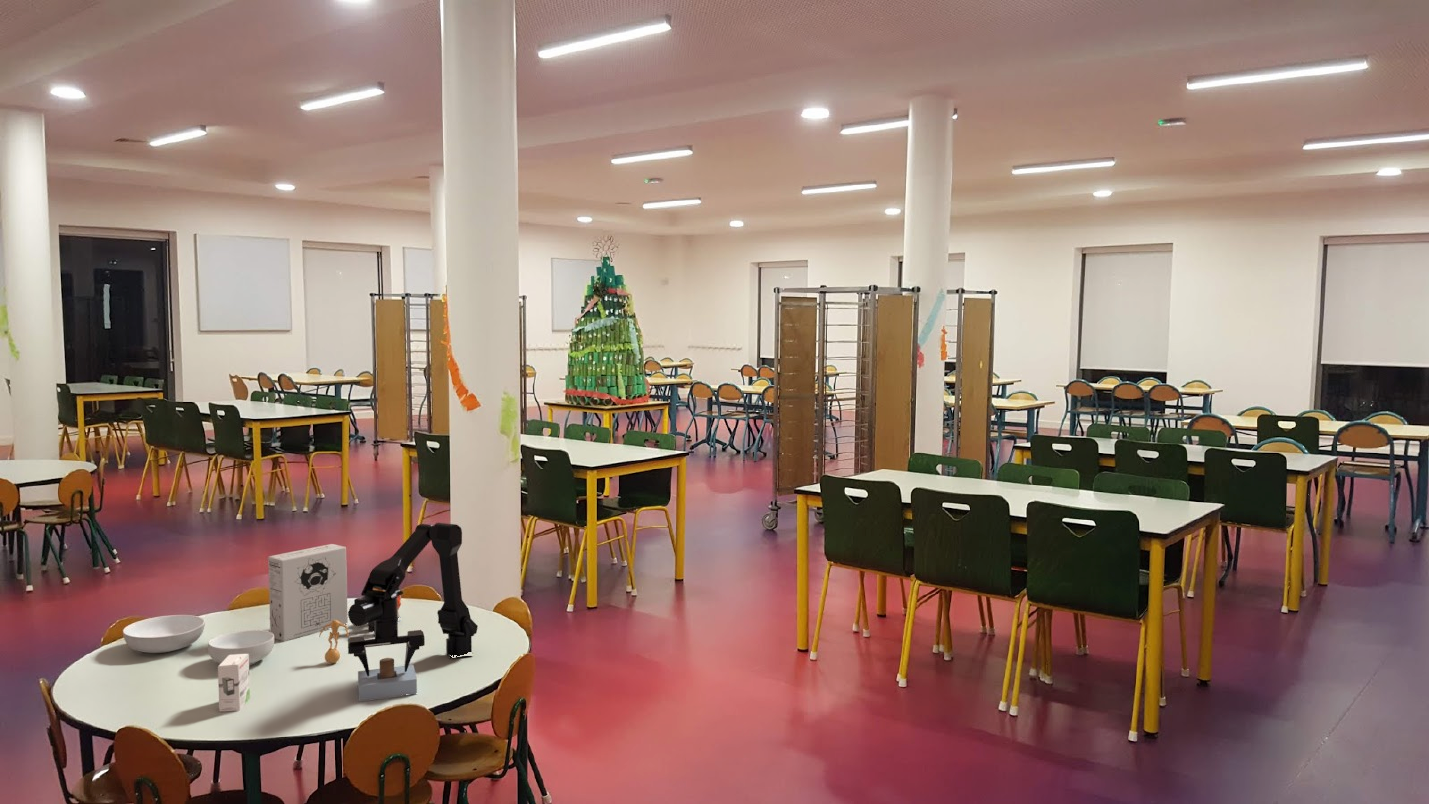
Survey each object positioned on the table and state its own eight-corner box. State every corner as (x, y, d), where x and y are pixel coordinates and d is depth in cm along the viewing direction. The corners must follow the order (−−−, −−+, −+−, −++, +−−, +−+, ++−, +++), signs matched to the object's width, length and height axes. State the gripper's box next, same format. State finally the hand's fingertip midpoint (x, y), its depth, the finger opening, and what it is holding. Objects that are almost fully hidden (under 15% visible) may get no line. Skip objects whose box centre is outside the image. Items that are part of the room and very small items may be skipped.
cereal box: (334, 619, 307) (332, 543, 305) (348, 624, 303) (346, 546, 301) (269, 637, 290) (267, 556, 287) (283, 642, 285) (281, 560, 283)
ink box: (230, 698, 242) (228, 653, 241) (250, 697, 243) (249, 652, 242) (218, 712, 234) (217, 665, 233) (240, 711, 235) (238, 664, 234)
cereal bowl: (284, 663, 268) (284, 638, 267) (222, 678, 256) (221, 652, 255) (260, 648, 279) (259, 625, 279) (199, 662, 267) (198, 638, 267)
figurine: (314, 665, 266) (313, 623, 265) (323, 657, 272) (322, 616, 271) (344, 665, 266) (343, 623, 265) (352, 658, 272) (351, 617, 271)
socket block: (413, 679, 256) (413, 664, 256) (416, 694, 246) (416, 679, 246) (358, 686, 251) (357, 671, 251) (359, 701, 241) (358, 686, 241)
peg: (394, 686, 251) (393, 657, 250) (395, 691, 248) (394, 661, 247) (379, 688, 250) (379, 658, 249) (380, 693, 246) (379, 663, 246)
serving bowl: (131, 666, 264) (130, 642, 264) (117, 646, 280) (116, 623, 279) (213, 650, 278) (213, 626, 277) (195, 632, 294) (195, 610, 293)
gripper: (420, 603, 258) (421, 659, 259) (347, 610, 251) (348, 667, 253) (424, 615, 248) (425, 673, 249) (347, 622, 241) (348, 682, 242)
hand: (387, 673), depth 248 cm, fingers open, 9 cm apart
